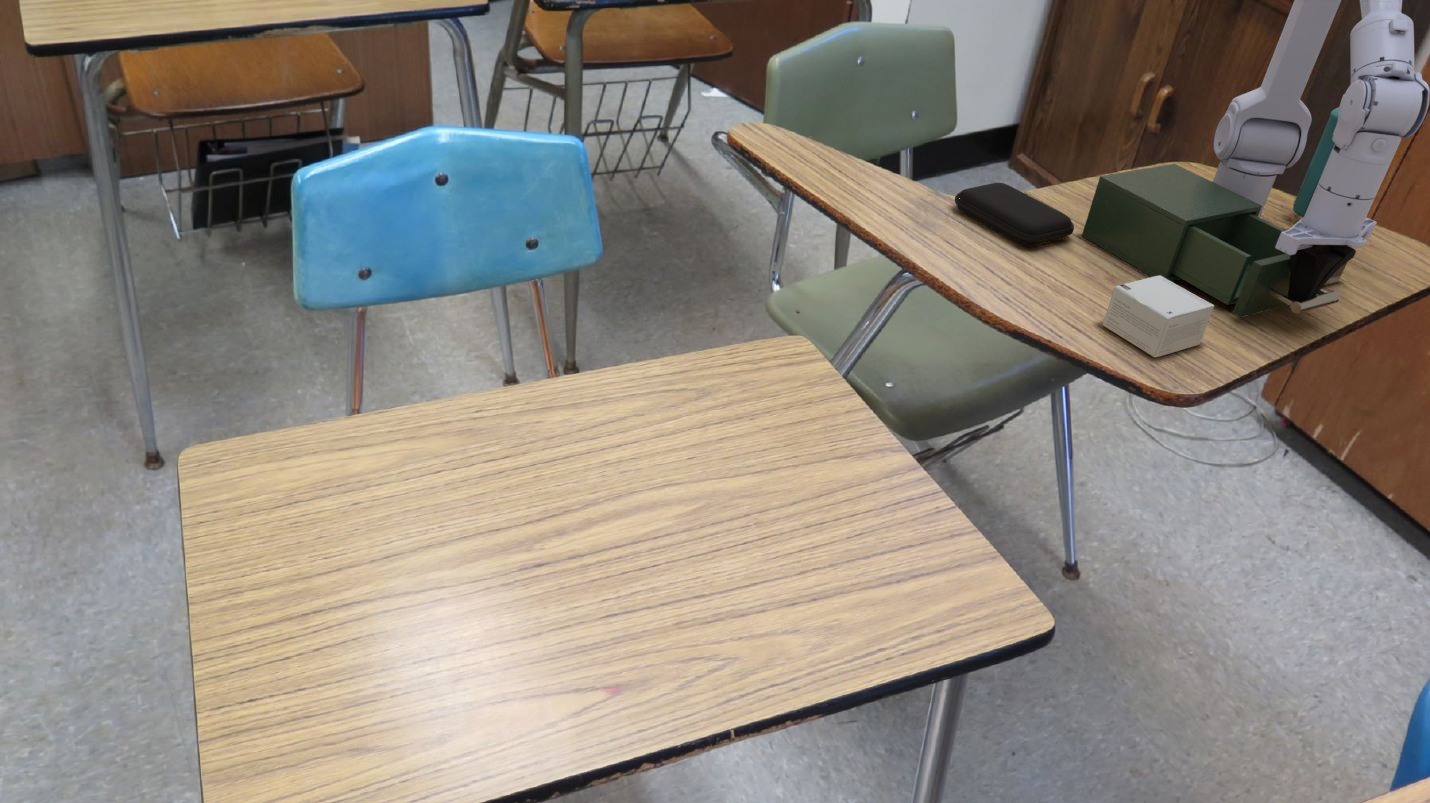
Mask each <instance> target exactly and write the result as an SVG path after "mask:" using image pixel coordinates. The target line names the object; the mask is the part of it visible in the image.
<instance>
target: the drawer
mask: <svg viewBox="0 0 1430 803" xmlns="http://www.w3.org/2000/svg"><path fill="white" fill-rule="evenodd" d="M1260 217H1261V216H1260ZM1260 217H1257V216H1255V215H1253V214H1251V213H1246V214H1241V215H1236V216H1231V217H1226V218H1221V219H1216V220H1211V221H1206V222H1201V223H1197V224H1192V225H1188V228H1187V230H1186V233H1185V236H1184V239H1183V241H1182V244H1181V247H1180V249H1179V252H1178V255H1177V258H1176V260H1175V263H1174V266H1173V269H1172V271H1171V273H1172V274H1174V275H1176V276H1178V277H1179V278H1181V280H1183V281H1184V282H1186V283H1188V284H1190V285H1192V286H1193V287H1195V288H1197V289H1199V290H1200V291H1202V292H1204V293H1205V294H1207V295H1209V296H1211V297H1212V298H1214V299H1216V300H1218V301H1220V302H1222V303H1223V304H1225V305H1227V306H1229V305H1233V304H1234V308H1233V310H1232V314H1233V315H1236V316H1237V317H1238V318H1245V317H1247V316H1252V315H1255V314H1258V313H1261V312H1266V311H1270V310H1274V309H1277V308H1280V307H1284V306H1289V307H1290V311H1291V312H1292V313H1294V314H1302V313H1304V312H1308V311H1312V310H1315V309H1319V308H1323V307H1327V306H1330V305H1334V304H1337V303H1339V301H1340V300H1341V296H1340V294H1339V292H1338V291H1334V290H1332V291H1327V290H1325V289H1323V288H1322V289H1321V290H1320V291H1319V292H1318V294H1317V295H1316V296H1313V297H1309V298H1306V299H1302V300H1298V301H1294V300H1292V299H1291V298H1289V297H1288V290H1289V282H1290V273H1291V261H1290V255H1289V254H1286V253H1284V252H1282V251H1280V250H1278V249H1276V248H1275V246H1276V244H1277V242H1278V239H1279V237H1280V234H1281V232H1284V231H1287V230H1286V229H1284V228H1282V227H1280V226H1278V225H1276V224H1273V223H1272V222H1270V221H1268V220H1266V219H1264V218H1263V217H1261V218H1260Z"/></svg>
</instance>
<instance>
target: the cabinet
mask: <svg viewBox="0 0 1430 803" xmlns="http://www.w3.org/2000/svg"><path fill="white" fill-rule="evenodd" d="M1261 207H1262V205H1260V204H1258V203H1256V202H1253V201H1251V200H1249V199H1247V198H1245V197H1243V196H1241V195H1239V194H1237V193H1235V192H1233V191H1230V190H1228V189H1226V188H1224V187H1222V186H1220V185H1218V184H1216V183H1214V182H1213V180H1209V179H1207V178H1205V177H1203V176H1201V175H1200V174H1197V173H1195V172H1193V171H1191V170H1188V169H1186V168H1185V167H1183V166H1181V165H1178V164H1176V163H1171V164H1166V165H1159V166H1153V167H1147V168H1140V169H1134V170H1129V171H1122V172H1117V173H1111V174H1106V175H1105V174H1104V175H1100V176H1099V178H1098V182H1097V185H1096V188H1095V192H1094V195H1093V198H1092V201H1091V205H1090V207H1089V211H1088V215H1087V218H1086V221H1085V224H1084V226H1083V231H1082V234H1081V237H1083V238H1085V239H1086V240H1088V241H1090V242H1091V243H1093V244H1095V245H1096V246H1098V247H1100V248H1102V249H1104V250H1105V251H1107V252H1109V253H1110V254H1112V255H1113V256H1115V257H1117V258H1119V259H1120V260H1122V261H1124V262H1126V263H1127V264H1129V265H1131V266H1133V267H1134V268H1136V269H1138V270H1139V271H1141V272H1143V273H1144V274H1145V275H1148V276H1150V277H1154V276H1159V275H1161V276H1162V277H1164V278H1166V279H1168V280H1169V281H1171V282H1173V283H1174V282H1177V281H1181V280H1182V279H1181V278H1179V277H1178V276H1176V275H1174V274H1172V273H1171V271H1172V269H1173V266H1174V263H1175V260H1176V258H1177V255H1178V252H1179V249H1180V247H1181V244H1182V241H1183V239H1184V236H1185V233H1186V230H1187V228H1188V225H1192V224H1197V223H1201V222H1206V221H1211V220H1216V219H1221V218H1226V217H1231V216H1236V215H1241V214H1246V213H1251V214H1253V215H1255V216H1257V217H1258V215H1259V213H1260V210H1261Z"/></svg>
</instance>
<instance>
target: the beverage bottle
mask: <svg viewBox="0 0 1430 803" xmlns="http://www.w3.org/2000/svg"><path fill="white" fill-rule="evenodd" d="M1339 107H1340V106H1338V107H1336V108H1334V109H1333V110H1331V112H1330V115H1329V118H1328V120H1327V122H1326V125H1325V127H1324V130H1323V133H1322V135H1321V138H1320V140H1319V143H1318V145H1317V147H1316V149H1315V152H1314V153H1313V155H1312V157H1311V160H1310V161H1309V162H1308V167H1307V169H1306V171H1305V174H1304V176H1303V177H1302V182H1300V186H1299V187H1298V190H1297V193H1296V194H1295V198H1294V200H1293V203H1292V207H1293V208H1292V210H1293V212H1294V213H1295V214H1296V215H1297V216H1298V217H1301V218H1303V217H1304V216H1305V213H1306V211H1307V209H1308V206H1309V204H1310V202H1311V199H1312V197H1313V194H1314V192H1315V190H1316V187H1317V185H1318V182H1319V180H1320V178H1321V175H1322V173H1323V171H1324V168H1325V166H1326V164H1327V161H1328V159H1329V156H1330V154H1331V152H1332V149H1333V147H1334V144H1335V142H1334V141H1333V140H1332V138H1333V133H1334V130H1335V128H1336V125H1337V122H1338V114H1339Z"/></svg>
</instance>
